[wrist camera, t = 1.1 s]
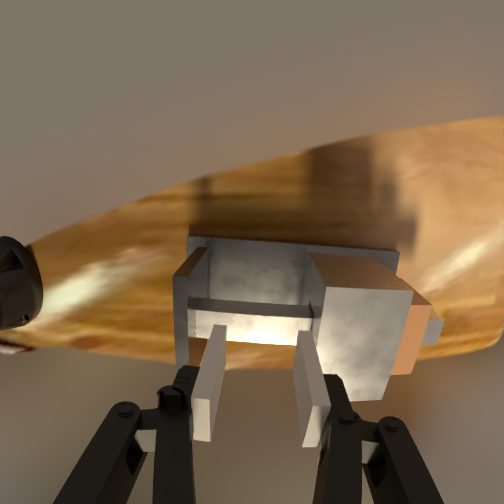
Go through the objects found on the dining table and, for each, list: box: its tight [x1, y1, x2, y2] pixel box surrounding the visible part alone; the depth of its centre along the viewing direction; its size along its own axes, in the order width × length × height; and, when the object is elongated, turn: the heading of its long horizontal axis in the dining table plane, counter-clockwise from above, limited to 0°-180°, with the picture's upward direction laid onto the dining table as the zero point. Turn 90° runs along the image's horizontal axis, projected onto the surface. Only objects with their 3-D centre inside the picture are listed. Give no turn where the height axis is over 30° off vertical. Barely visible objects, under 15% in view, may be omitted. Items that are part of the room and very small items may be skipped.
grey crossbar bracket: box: [173, 246, 444, 372], centre depth 31 cm, size 27×12×10 cm, turn 86°
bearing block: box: [187, 235, 414, 401], centre depth 32 cm, size 26×13×13 cm, turn 86°
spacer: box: [390, 278, 432, 375], centre depth 31 cm, size 3×8×8 cm, turn 176°
